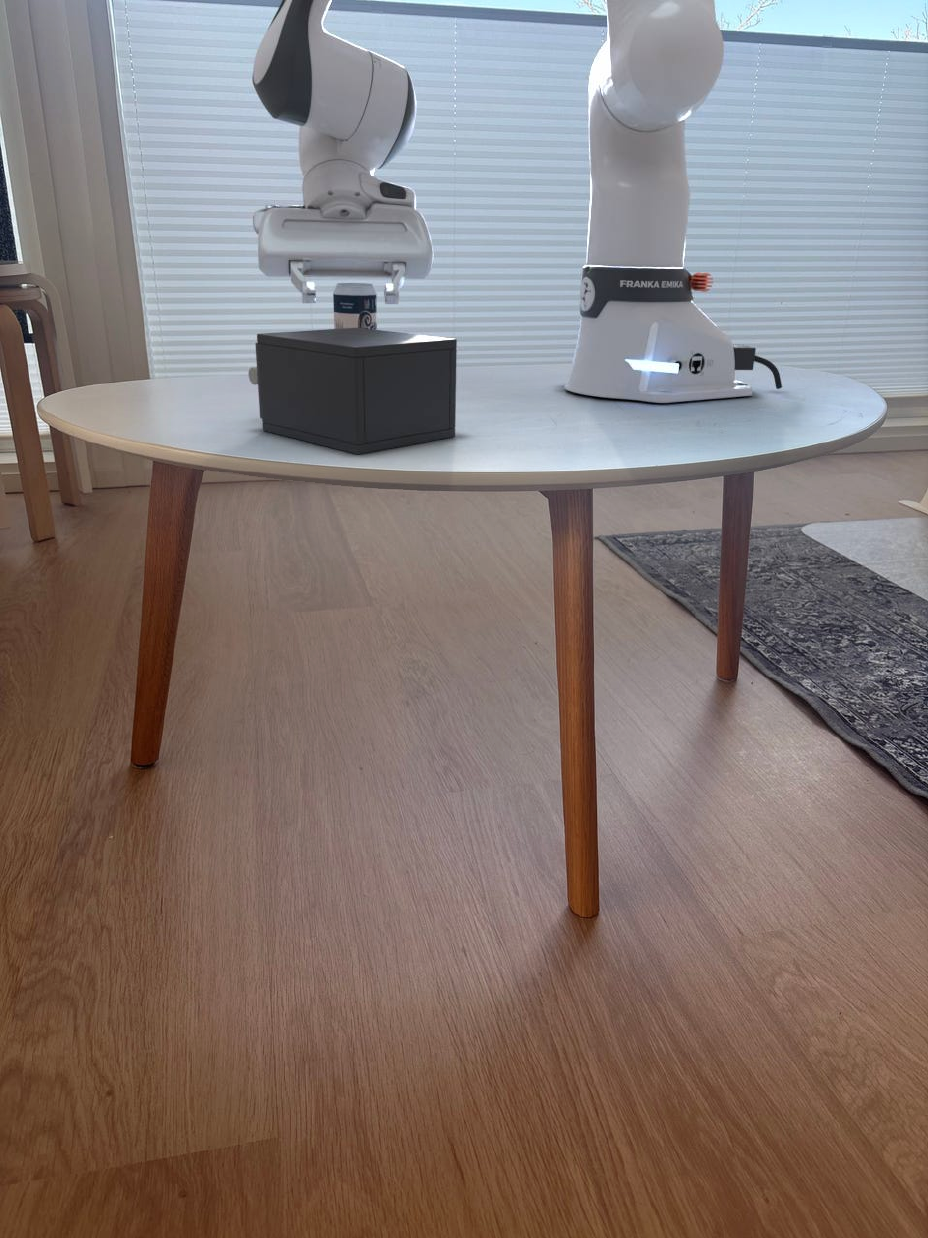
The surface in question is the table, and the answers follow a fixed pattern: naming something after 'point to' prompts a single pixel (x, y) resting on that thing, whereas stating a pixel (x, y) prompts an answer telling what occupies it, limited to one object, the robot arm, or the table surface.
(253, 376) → the drawer
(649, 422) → the table surface
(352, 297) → the beer can
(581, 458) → the table surface
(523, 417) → the table surface
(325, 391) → the dark grey storage box
